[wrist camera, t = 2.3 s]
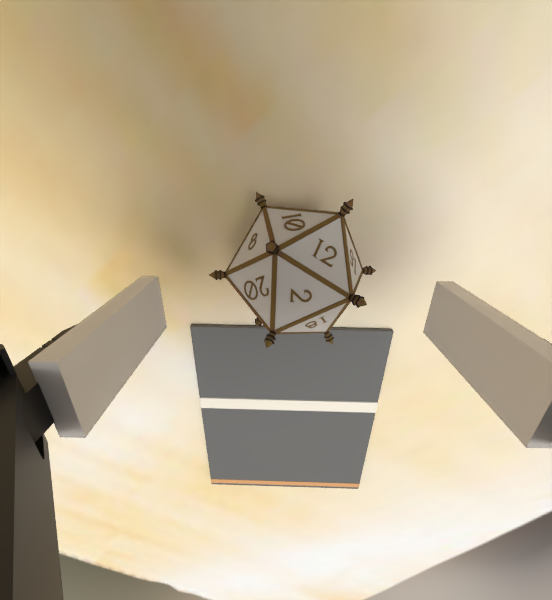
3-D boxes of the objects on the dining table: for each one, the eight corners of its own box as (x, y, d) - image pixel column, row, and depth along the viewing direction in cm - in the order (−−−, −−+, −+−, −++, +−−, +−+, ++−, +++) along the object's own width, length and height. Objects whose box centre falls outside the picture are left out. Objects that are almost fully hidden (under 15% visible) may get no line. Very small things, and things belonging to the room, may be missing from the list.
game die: (288, 263, 24) (242, 371, 19) (234, 175, 19) (150, 296, 14) (400, 255, 19) (376, 398, 14) (373, 130, 14) (318, 297, 9)
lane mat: (191, 324, 23) (189, 327, 22) (391, 328, 23) (393, 332, 22) (212, 480, 31) (211, 484, 31) (357, 484, 31) (358, 489, 31)
